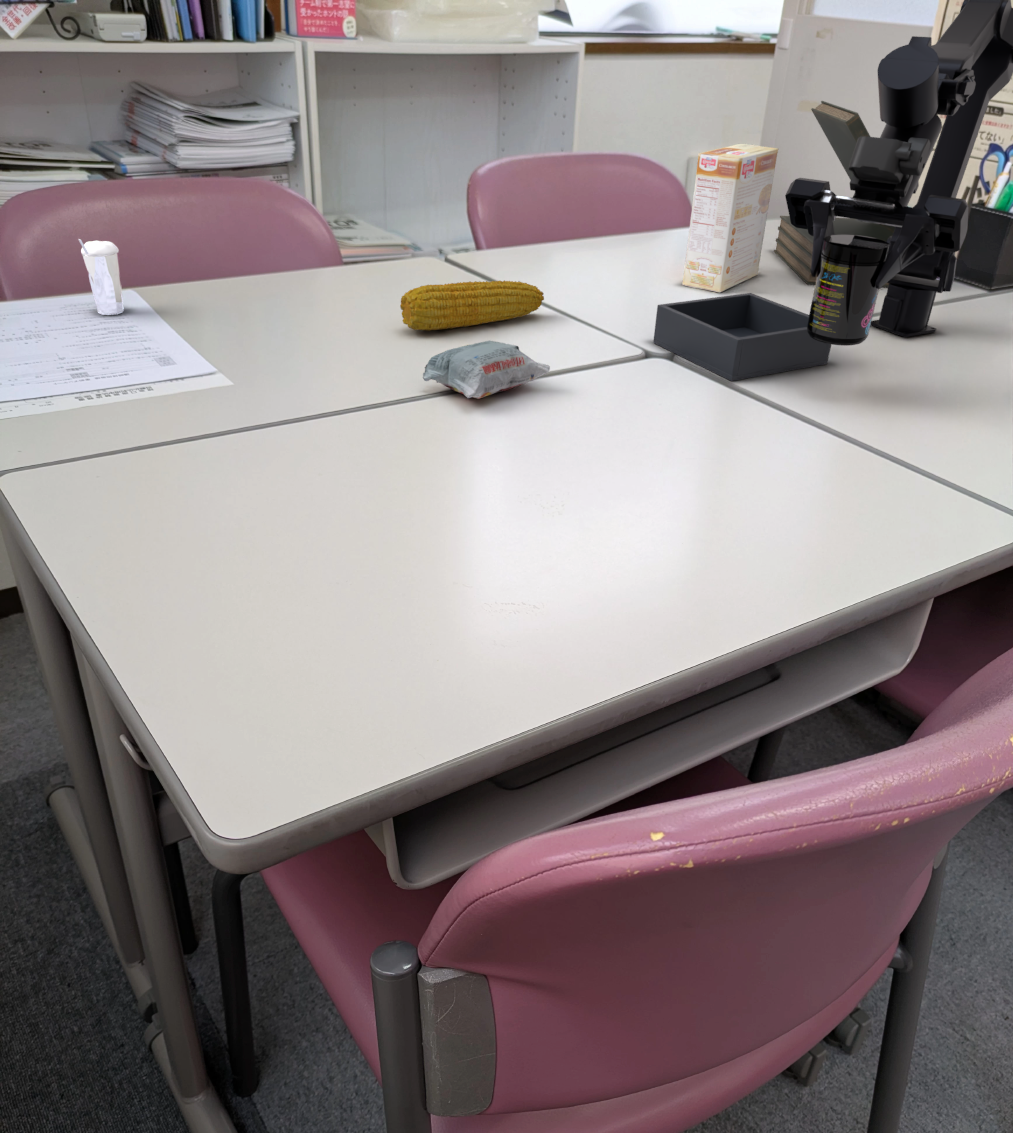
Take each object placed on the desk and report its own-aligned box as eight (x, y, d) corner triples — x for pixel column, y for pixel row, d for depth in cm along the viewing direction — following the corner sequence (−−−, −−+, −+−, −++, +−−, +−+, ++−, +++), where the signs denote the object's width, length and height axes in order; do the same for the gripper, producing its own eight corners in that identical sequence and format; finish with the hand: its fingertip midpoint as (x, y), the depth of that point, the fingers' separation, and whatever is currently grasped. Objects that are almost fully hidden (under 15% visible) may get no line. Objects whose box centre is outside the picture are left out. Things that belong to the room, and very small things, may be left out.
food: (416, 340, 121) (415, 293, 118) (395, 328, 125) (394, 283, 122) (550, 318, 131) (552, 275, 128) (527, 308, 135) (529, 265, 132)
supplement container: (857, 351, 102) (880, 252, 96) (796, 339, 105) (815, 242, 99) (874, 335, 107) (896, 240, 101) (815, 324, 110) (834, 231, 104)
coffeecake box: (719, 267, 160) (738, 142, 149) (759, 275, 156) (781, 147, 146) (679, 285, 149) (696, 151, 139) (721, 293, 146) (741, 156, 135)
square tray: (744, 328, 130) (750, 292, 127) (827, 364, 118) (835, 324, 116) (652, 342, 123) (657, 304, 121) (731, 381, 112) (738, 340, 109)
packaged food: (548, 389, 107) (550, 347, 105) (468, 413, 100) (468, 369, 98) (498, 369, 113) (498, 329, 110) (418, 391, 106) (417, 348, 103)
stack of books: (927, 288, 152) (971, 118, 139) (806, 284, 152) (839, 113, 139) (880, 255, 172) (916, 103, 159) (773, 251, 172) (800, 98, 159)
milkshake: (80, 315, 125) (65, 237, 120) (109, 305, 129) (95, 229, 124) (108, 320, 123) (93, 241, 118) (136, 309, 128) (123, 233, 123)
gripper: (808, 96, 101) (750, 220, 99) (993, 112, 92) (933, 249, 90) (819, 166, 111) (766, 281, 109) (988, 187, 101) (933, 312, 100)
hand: (844, 280), depth 101 cm, fingers closed on supplement container, 7 cm apart
